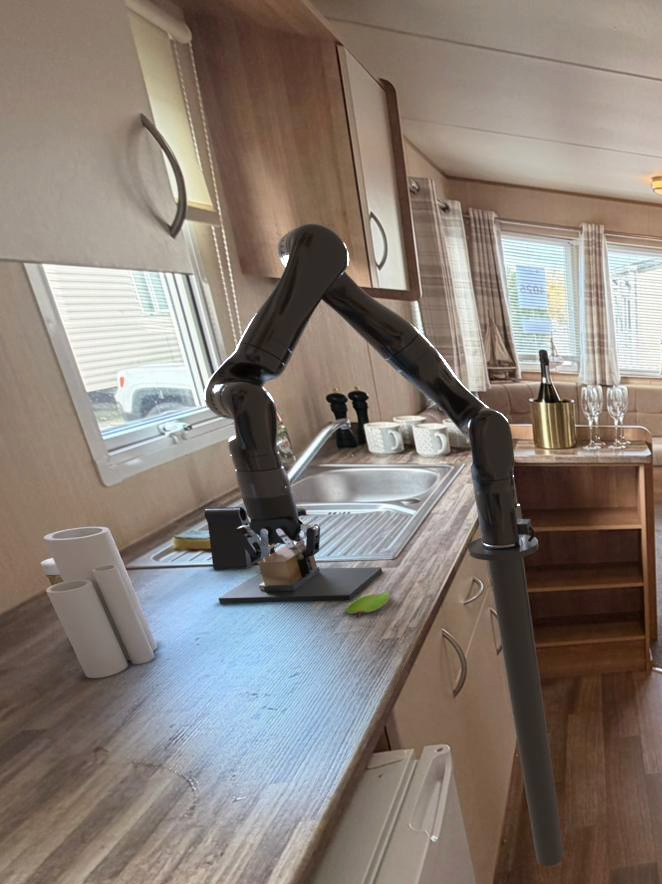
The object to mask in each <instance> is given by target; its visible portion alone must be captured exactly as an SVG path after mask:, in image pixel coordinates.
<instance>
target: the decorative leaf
mask: <svg viewBox="0 0 662 884" xmlns="http://www.w3.org/2000/svg"><path fill="white" fill-rule="evenodd" d="M389 598H390V592H385V593H373V594H367V595H364V596H362V597H359V598H357V599H356V600H354V601H353V602H352V603H350V604H349V606H347V608H346V612H347V613H348V614H350V615H353V614H354V615H355V614H358V615H357V616H356V617H357V618H359V617H360V616H361V614H362V613H366V614H367V613H371V612H374V611H377V610H379V609H380V608H382V607H383V606H384V605H385V604H387V602H388V600H389Z"/></svg>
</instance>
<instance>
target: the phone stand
mask: <svg viewBox="0 0 662 884" xmlns="http://www.w3.org/2000/svg"><path fill="white" fill-rule="evenodd" d="M204 518H205V520H206V523H207V528H208V536H209V544H210V553H211V560H212V568H213V570H233V569H248V568H250V567H252V566H254V565H255V564H256V563H258V562H259V561H261V560H262V559H261V558H259V557H251V556H250V555H249V553H248V552H247V550H246V549H245V547H244V546H243V544H242V543H241V541H240V540H239V538H238V537H237V535H236V534H235V532H234V530H235V529H237V528H238V527H240V526H243V525H250V518H249V517H248V515H247V512H246V509H245V507H243V506H234V507H232V506H230V507H228V506H227V507H208V508H206V509H205V510H204ZM254 536H255V537H256V539H257V540H258V542H259V543H260V542H261V538H259V537H260V536H259V535H257V534H256V533H255V532H254Z"/></svg>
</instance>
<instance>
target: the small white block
mask: <svg viewBox="0 0 662 884" xmlns="http://www.w3.org/2000/svg"><path fill="white" fill-rule="evenodd" d="M264 585H265V584H264V582H263V583H261V584H260V585H259V588H260V590H264V587H263V586H264Z"/></svg>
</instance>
